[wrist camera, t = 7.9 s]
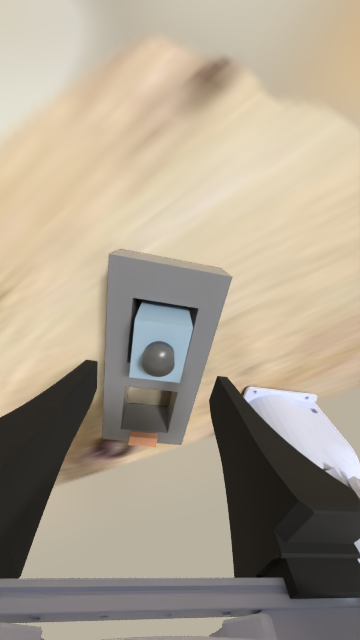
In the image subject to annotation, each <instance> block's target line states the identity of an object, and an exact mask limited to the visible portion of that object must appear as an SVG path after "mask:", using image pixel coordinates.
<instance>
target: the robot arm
mask: <svg viewBox="0 0 360 640" xmlns="http://www.w3.org/2000/svg"><path fill="white" fill-rule="evenodd" d="M96 389H97V361H91V360H86V361H84V362H83V363H81V364H80V365H79V366H78V367H76V368H75V369H74V370H73V371H71V372H70V373H69V374H68V375H66V376H65V377H64V378H62V379H61V380H60V381H58V382H57V383H56V384H54V385H53V386H51V387H50V388H48V389H47V390H45V391H44V392H43V393H41V394H40V395H38V396H37V397H35V398H34V399H32V400H30V401H29V402H27V403H26V404H24V405H22V406H20V407H19V408H17V409H15V410H14V411H12V412H10V413H8V414H6V415H4V416H2V417H0V640H44V639H42V638H41V634H42V630H41V627H36V626H28V625H19V624H11V623H30V622H64V621H65V622H67V621H98V620H99V621H100V620H135V619H172V618H205V617H206V618H207V617H238V618H233V619H228V620H224V622H223V624H222V628H221V629H219V630H218V631H217V632H215V633H213V634H211V635H209V637H202V636H154V637H132V638H117V639H104V640H360V463H359V460H358V458H357V456H356V454H355V452H354V450H353V449H352V447H351V446H350V445H349V444H348V442H347V441H346V440H345V438H344V437H343V436H342V435H341V434H340V432H339V431H338V430H337V429H336V428H335V426H334V425H333V424H332V423H331V422H330V420H329V419H328V418H327V417H326V416H325V414H324V413H323V412H322V411H321V410H320V408H319V407H318V406H317V405H316V404H315V401H316V400H317V396H316V395H315V394H310V393H302V392H293V391H285V390H276V389H268V388H259V387H247V388H246V390H245V392H244V395H243V396H242V395H241V394H240V392H239V391H238V390H237V389H236V387H235V386H234V385H233V384H232V383H231V381H230V380H229V379H228V378H227V377H221V376H217V379H216V382H215V385H214V388H213V391H212V394H211V397H210V399H209V403H210V412H211V419H212V423H213V427H214V432H215V436H216V440H217V444H218V448H219V452H220V457H221V462H222V466H223V474H224V481H225V488H226V495H227V503H228V512H229V520H230V530H231V540H232V552H233V564H234V576H235V578H77V579H76V578H68V579H67V578H60V579H59V578H58V579H56V578H50V579H49V578H48V579H18V578H19V577H20V576H21V573H22V570H23V567H24V565H25V562H26V559H27V556H28V553H29V550H30V548H31V545H32V542H33V539H34V536H35V533H36V531H37V528H38V525H39V523H40V520H41V517H42V515H43V512H44V509H45V506H46V504H47V501H48V498H49V496H50V493H51V491H52V488H53V486H54V483H55V481H56V478H57V475H58V473H59V471H60V468H61V466H62V463H63V461H64V458H65V456H66V453H67V451H68V449H69V447H70V445H71V443H72V441H73V439H74V437H75V435H76V433H77V431H78V429H79V427H80V425H81V423H82V421H83V419H84V417H85V415H86V413H87V411H88V409H89V407H90V405H91V403H92V400H93V398H94V395H95V392H96ZM242 616H243V617H242Z"/></svg>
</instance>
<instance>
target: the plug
mask: <svg viewBox="0 0 360 640" xmlns="http://www.w3.org/2000/svg"><path fill="white" fill-rule="evenodd" d="M192 331H193V325H192V321H191V317H190V312H189V308H188V307H187V306H181V305H175V304H169V303H163V302H156V301H150V300H144V299H143V300H142V303H141V305H140V308H139V310H138V313H137V315H136V318H135V323H134V333H133V343H132V353H131V364H130V374H129V377H131V378H140V379H149V380H158V381H167V382H176V383H180V380H181V376H182V372H183V368H184V364H185V360H186V355H187V351H188V347H189V343H190V339H191V335H192Z"/></svg>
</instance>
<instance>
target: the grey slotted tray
mask: <svg viewBox="0 0 360 640" xmlns="http://www.w3.org/2000/svg"><path fill="white" fill-rule="evenodd" d="M231 280H232V276H231V275H229V274H228V273H227V272H225V271H224V270H223V269H222V268H217V267H212V266H207V265H202V264H197V263H191V262H186V261H181V260H176V259H171V258H165V257H160V256H155V255H150V254H144V253H139V252H134V251H129V250H124V249H119V250H117V251H114V252H112V253H109V261H108V289H107V318H106V346H105V374H104V403H103V431H102V439H111V440H124V441H129V445H137V446H151V447H156V443H164V444H177V445H181V444H182V441H183V438H184V434H185V431H186V428H187V424H188V421H189V418H190V415H191V411H192V408H193V405H194V401H195V398H196V395H197V392H198V388H199V385H200V382H201V378H202V375H203V372H204V368H205V365H206V362H207V359H208V355H209V352H210V349H211V345H212V342H213V339H214V336H215V332H216V329H217V326H218V322H219V319H220V316H221V312H222V309H223V306H224V303H225V299H226V296H227V293H228V289H229V286H230V283H231ZM138 299H144V300H150V301H156V302H163V303H169V304H175V305H181V306H187V307H191V310H190V317H191V321H192V325H193V331H192V335H191V339H190V343H189V347H188V351H187V355H186V360H185V364H184V368H183V372H182V376H181V380H180V383H176V382H167V381H158V380H149V379H140V378H131V377H129V374H130V364H131V353H132V343H133V333H134V323H135V318H136V314H137V304H138ZM129 387H137V388H146V389H155V390H165V391H172V393H171V397H170V401H169V406H168V407H164V406H154V405H144V404H133V403H127V399H128V390H129Z"/></svg>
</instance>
